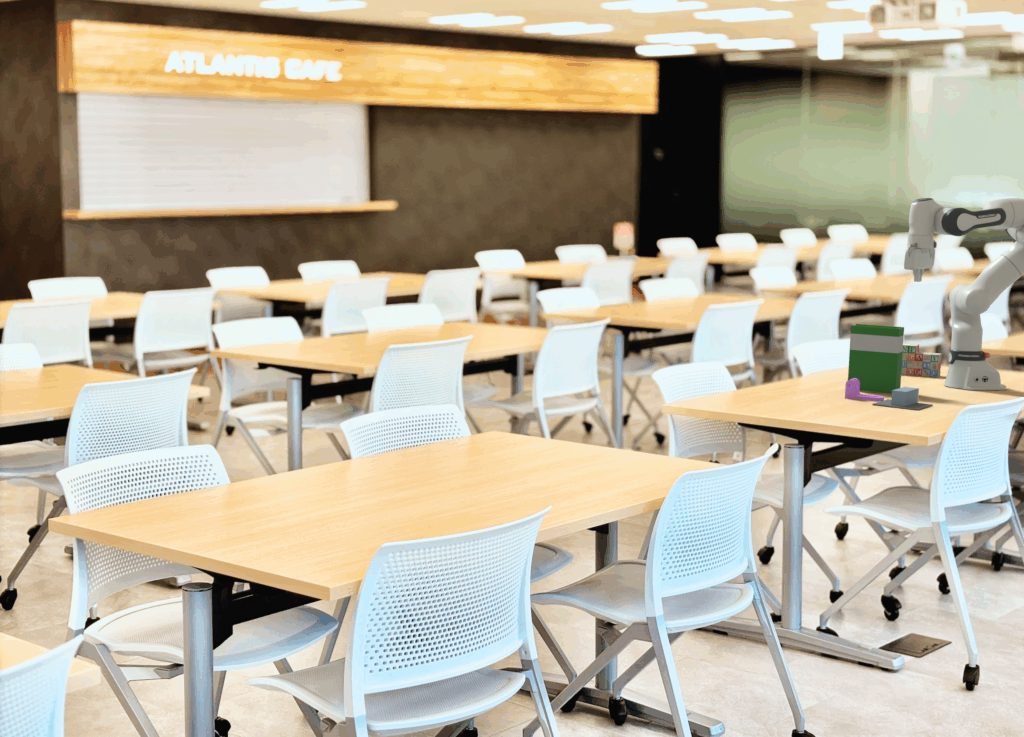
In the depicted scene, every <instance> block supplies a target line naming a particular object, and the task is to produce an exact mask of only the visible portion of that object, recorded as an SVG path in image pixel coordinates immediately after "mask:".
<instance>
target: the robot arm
mask: <svg viewBox="0 0 1024 737" xmlns="http://www.w3.org/2000/svg"><path fill="white" fill-rule="evenodd" d="M908 226H909V229H908V233H907V243H906V244H907V245H906V246H907V248H906V250H905V254H904V261H903V267H904V270H908V271H912V274H913V282H914V283H915V282H917V283H919V282H922V280H923V279H922V278H923V275H924V272H925V270H926V269H933V266H934V264H935V258H936V249H937V245H938V243H937V241H936V240H935V238H934V234H935V235H936V234H937V235H947V236H954V237H962V236H965V235H967V234H968V233H969V232H971V231H973V230H977V229H982V228H987V229H989V230H990V229H991V230H1004V231H1005V233H1006V234H1007V235H1008V236H1009V237H1011V238H1012V239H1014V240H1015V242H1014V243H1013V245H1012V247H1010V248H1008V249H1007V250H1005V251H1004V252H1002V253H1001V254H1000V255H999V256H998V257H997V258H995V259H994V260H993V261H991V262H990V263H989V264H988V265H987V266H985V267H984V268H983V269H982V271H981V273H980V274H979V275H978V276H977V277H976V278H975V279H974V280H973V281H972V282H971V283H960V284H958V285H956V286H954V287H953V288H952V289H951V290H950V292H949V296H948V298H949V303H950V304H949V305H950V317H951V342H950V348H949V352H948V369H947V374H946V378H945V381H944V384H943V385H944V386H945V387H949V388H955V389H961V390H962V389H964V390H966V391H967V390H968V391H997V390H998V391H1005V390H1007V386H1006V385H1005V384H1002V382H1001V381H1002V380H1001V373H1000V372H999V371H998V369H996V368H995V367H993V365H991V364H990V362H988V361H986V360H987V359H990V358H991V353H990V352H985V351H983V350H982V348H983V347H982V346H983V345H982V344H983V334H984V333H983V326H982V319H981V314H983V313H985V312H987V311H988V310H989V308H990V306H991V305H992V304H993V303H994V302H995V301H996V300H997V299H998V298H999V296H1000V295H1002V293H1004V291H1006V290H1007V289H1008V288H1009V287H1010V286H1012V285H1013V284H1014V283H1015V282H1016V281H1017V280H1019V279H1020V278H1021V277H1023V276H1024V198H1017V197H1016V198H1015V197H1014V198H1013V197H1012V198H1010V197H1009V198H999V199H995V200H994V199H993V200H992V201H989V202H987V203H985V204H984V206H983V208H982V209H979V210H973V211H972V210H969V209H967V208H963V207H945V206H943V205H941V204H939V203H937V201H935V199H934V198H932V197H923V198H922V197H921V198H917V199H914V200H913V201H912V203H911V205H910V209H909V215H908Z"/></svg>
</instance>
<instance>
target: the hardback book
mask: <svg viewBox="0 0 1024 737" xmlns="http://www.w3.org/2000/svg"><path fill="white" fill-rule="evenodd" d="M904 333H905V327H904V326H892V325H878V324H877V325H876V324H863V323H855V324H852V325H850V336H849V338H850V339H849V353H848V355H849V356H848V372H847V381H848V380H850V379H852V378H857V379H858V380H859V381H860V390H859V392H868V393H869V392H870V393H880V394H881V393H882V394H889V395H890V394H891V395H892V390H895V389H899V388H901V387H902V386H901V383H902V375H901V370H902V354H903V344H904V339H905V338H904V336H905V334H904Z"/></svg>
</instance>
